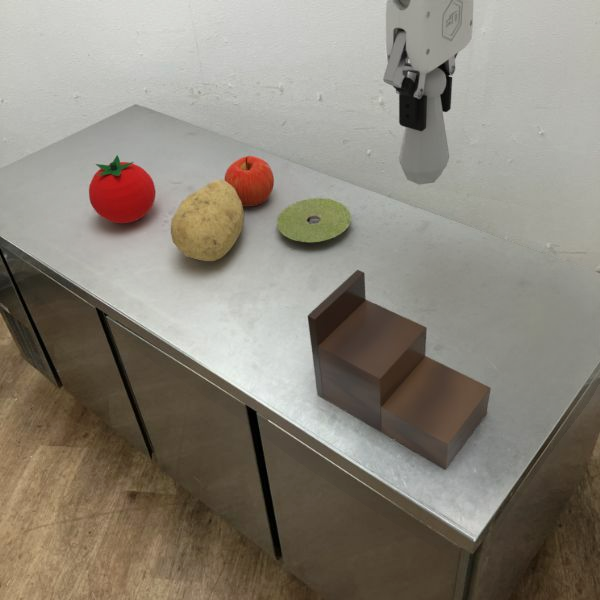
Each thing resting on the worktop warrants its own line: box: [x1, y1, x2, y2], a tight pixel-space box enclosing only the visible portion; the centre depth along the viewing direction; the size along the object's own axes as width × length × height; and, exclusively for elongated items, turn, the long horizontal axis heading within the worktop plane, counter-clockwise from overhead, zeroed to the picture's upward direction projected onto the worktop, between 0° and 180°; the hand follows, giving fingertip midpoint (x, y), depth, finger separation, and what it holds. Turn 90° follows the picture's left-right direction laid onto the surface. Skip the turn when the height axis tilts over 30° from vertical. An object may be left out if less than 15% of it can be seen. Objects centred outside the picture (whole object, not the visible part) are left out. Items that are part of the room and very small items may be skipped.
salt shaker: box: [398, 68, 450, 186], centre depth 74 cm, size 6×6×13 cm
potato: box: [170, 179, 245, 262], centre depth 95 cm, size 10×14×10 cm
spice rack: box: [307, 269, 492, 470], centre depth 69 cm, size 17×9×13 cm, turn 50°
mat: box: [276, 197, 352, 243], centre depth 99 cm, size 11×11×2 cm
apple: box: [224, 155, 275, 207], centre depth 104 cm, size 8×8×8 cm
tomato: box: [88, 154, 156, 224], centre depth 104 cm, size 10×10×10 cm
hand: (425, 116), depth 73 cm, fingers closed on salt shaker, 4 cm apart
